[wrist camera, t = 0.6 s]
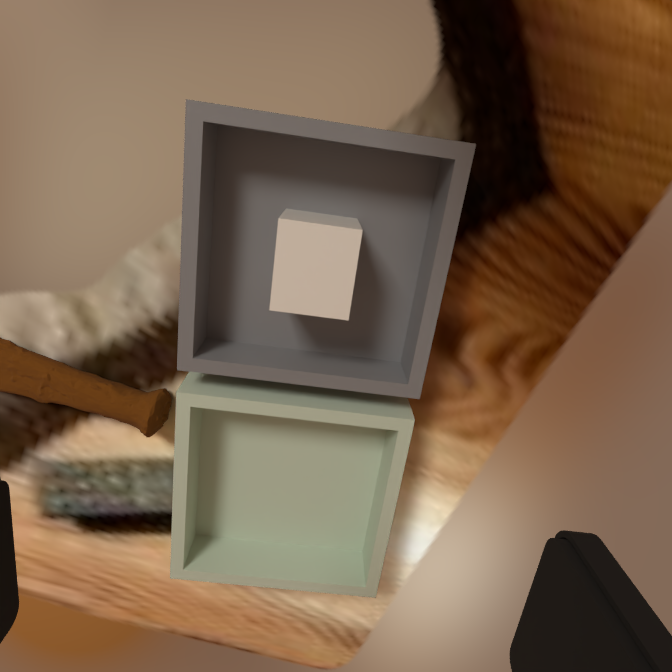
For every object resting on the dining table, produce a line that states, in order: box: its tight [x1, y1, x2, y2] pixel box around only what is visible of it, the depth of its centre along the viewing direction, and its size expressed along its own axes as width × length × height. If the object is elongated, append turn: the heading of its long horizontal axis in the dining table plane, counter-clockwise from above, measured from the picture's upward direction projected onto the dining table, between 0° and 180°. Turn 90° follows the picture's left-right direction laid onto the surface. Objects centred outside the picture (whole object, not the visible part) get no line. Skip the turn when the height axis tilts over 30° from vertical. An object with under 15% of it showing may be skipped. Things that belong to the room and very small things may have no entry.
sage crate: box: [170, 372, 415, 598], centre depth 35 cm, size 15×15×4 cm
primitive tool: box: [0, 338, 172, 437], centre depth 33 cm, size 19×6×4 cm, turn 75°
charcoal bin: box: [177, 100, 476, 399], centre depth 30 cm, size 15×15×4 cm
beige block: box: [269, 209, 363, 320], centre depth 29 cm, size 5×4×5 cm
